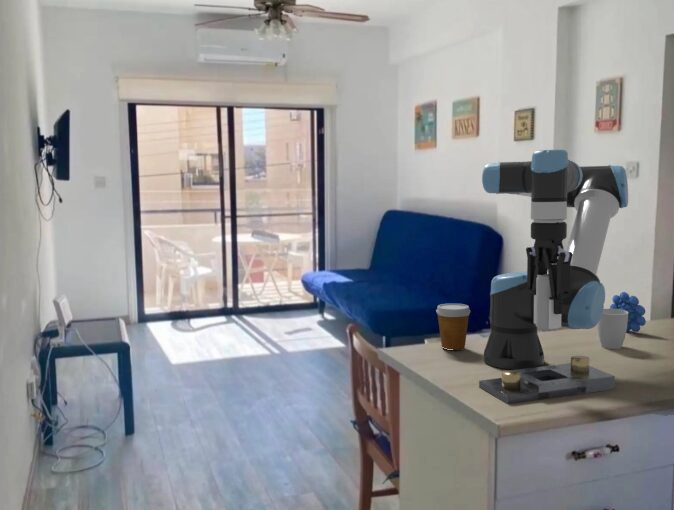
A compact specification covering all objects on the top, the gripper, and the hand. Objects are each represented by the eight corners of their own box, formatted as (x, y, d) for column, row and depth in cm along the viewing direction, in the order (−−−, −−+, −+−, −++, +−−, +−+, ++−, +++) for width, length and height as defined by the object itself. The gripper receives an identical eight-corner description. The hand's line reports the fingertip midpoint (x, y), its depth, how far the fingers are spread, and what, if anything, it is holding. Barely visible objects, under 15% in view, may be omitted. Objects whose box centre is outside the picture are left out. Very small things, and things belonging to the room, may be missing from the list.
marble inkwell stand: (479, 387, 147) (479, 361, 146) (579, 374, 155) (579, 349, 154) (507, 403, 136) (508, 376, 135) (614, 389, 144) (615, 362, 143)
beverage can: (561, 330, 141) (562, 276, 140) (539, 331, 141) (540, 277, 140) (554, 325, 146) (555, 273, 145) (533, 326, 146) (533, 274, 145)
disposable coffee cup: (476, 350, 178) (476, 308, 177) (445, 354, 176) (445, 310, 174) (460, 342, 187) (460, 302, 186) (430, 345, 185) (430, 304, 183)
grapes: (601, 329, 199) (602, 291, 198) (614, 326, 203) (615, 289, 202) (636, 336, 190) (637, 296, 188) (649, 333, 193) (651, 294, 192)
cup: (629, 345, 180) (630, 310, 179) (624, 351, 174) (625, 315, 173) (598, 342, 185) (599, 307, 184) (593, 348, 178) (593, 312, 177)
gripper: (590, 222, 134) (588, 332, 136) (539, 218, 151) (537, 316, 153) (559, 224, 132) (557, 335, 134) (511, 219, 149) (510, 319, 151)
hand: (547, 325), depth 144 cm, fingers closed on beverage can, 5 cm apart
